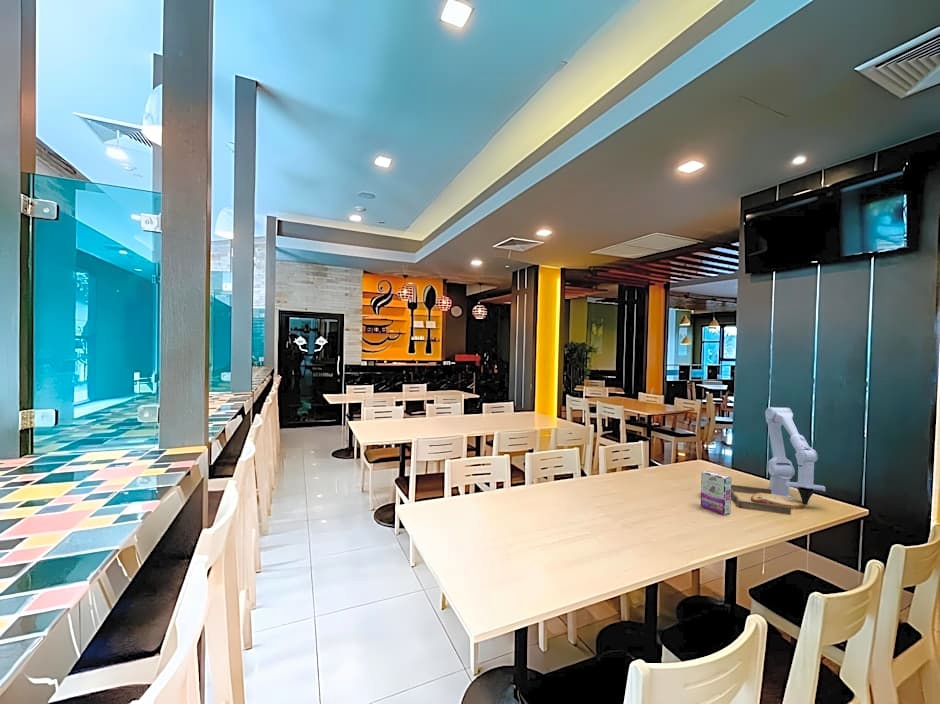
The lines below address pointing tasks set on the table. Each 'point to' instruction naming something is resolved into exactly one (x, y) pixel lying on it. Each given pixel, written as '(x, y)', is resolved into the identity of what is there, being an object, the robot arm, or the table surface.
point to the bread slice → (777, 500)
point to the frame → (756, 505)
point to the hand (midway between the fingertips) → (804, 503)
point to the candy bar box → (716, 492)
